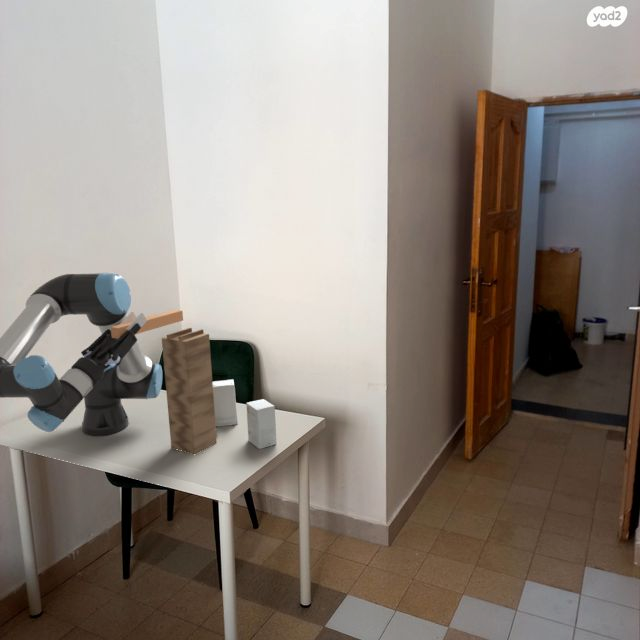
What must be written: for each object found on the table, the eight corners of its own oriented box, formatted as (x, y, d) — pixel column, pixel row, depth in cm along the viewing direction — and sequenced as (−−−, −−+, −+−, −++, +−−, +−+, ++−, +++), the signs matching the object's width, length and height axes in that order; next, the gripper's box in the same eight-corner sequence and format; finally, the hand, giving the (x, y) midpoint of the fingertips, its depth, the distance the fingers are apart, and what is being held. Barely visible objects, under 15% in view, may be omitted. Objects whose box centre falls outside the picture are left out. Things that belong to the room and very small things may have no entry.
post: (171, 448, 188) (161, 334, 180) (193, 436, 197) (184, 327, 188) (195, 454, 183) (185, 337, 175) (216, 442, 192) (208, 330, 183)
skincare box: (237, 418, 211) (234, 378, 207) (237, 425, 205) (235, 384, 202) (213, 420, 210) (210, 380, 206) (213, 427, 204) (210, 386, 200)
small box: (277, 444, 189) (275, 405, 186) (259, 449, 186) (256, 410, 183) (265, 435, 196) (263, 398, 193) (247, 440, 193) (245, 402, 190)
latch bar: (111, 337, 160) (110, 326, 159) (175, 319, 180) (175, 309, 179) (119, 339, 158) (118, 328, 158) (183, 320, 178) (182, 310, 178)
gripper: (69, 383, 157) (125, 323, 172) (111, 392, 149) (166, 329, 164) (53, 363, 153) (112, 303, 167) (95, 371, 145) (154, 308, 159)
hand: (139, 316), depth 165 cm, fingers closed on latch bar, 3 cm apart
